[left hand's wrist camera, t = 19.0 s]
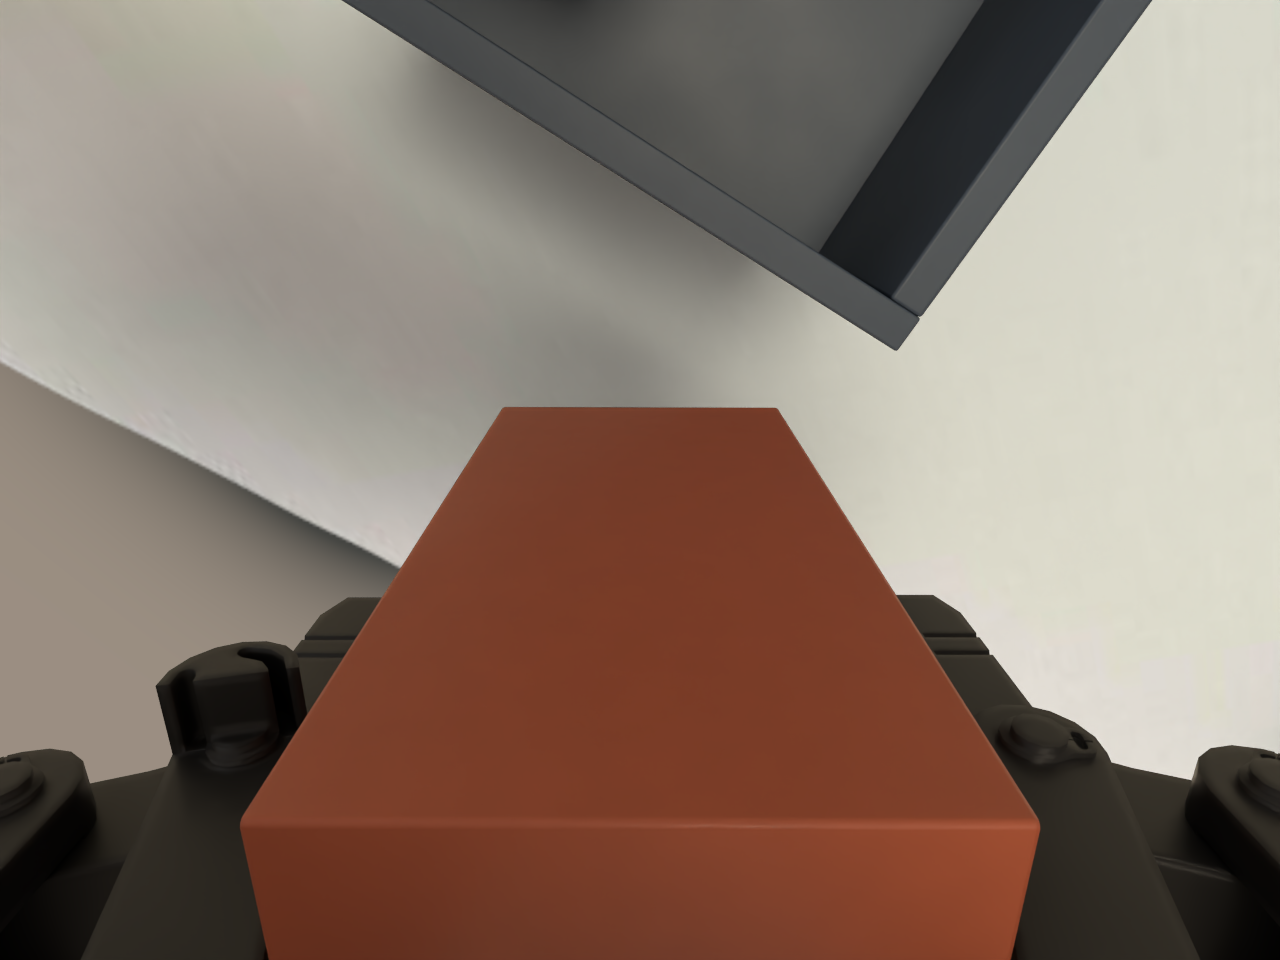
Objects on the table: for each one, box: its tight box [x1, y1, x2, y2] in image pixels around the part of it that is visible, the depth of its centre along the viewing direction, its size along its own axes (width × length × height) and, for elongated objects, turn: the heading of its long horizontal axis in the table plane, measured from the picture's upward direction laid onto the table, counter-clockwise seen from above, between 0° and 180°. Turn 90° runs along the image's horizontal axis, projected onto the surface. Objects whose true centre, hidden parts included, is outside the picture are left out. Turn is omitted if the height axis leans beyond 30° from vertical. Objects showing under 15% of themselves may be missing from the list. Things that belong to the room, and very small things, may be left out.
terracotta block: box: [240, 407, 1040, 960], centre depth 10 cm, size 5×5×10 cm
